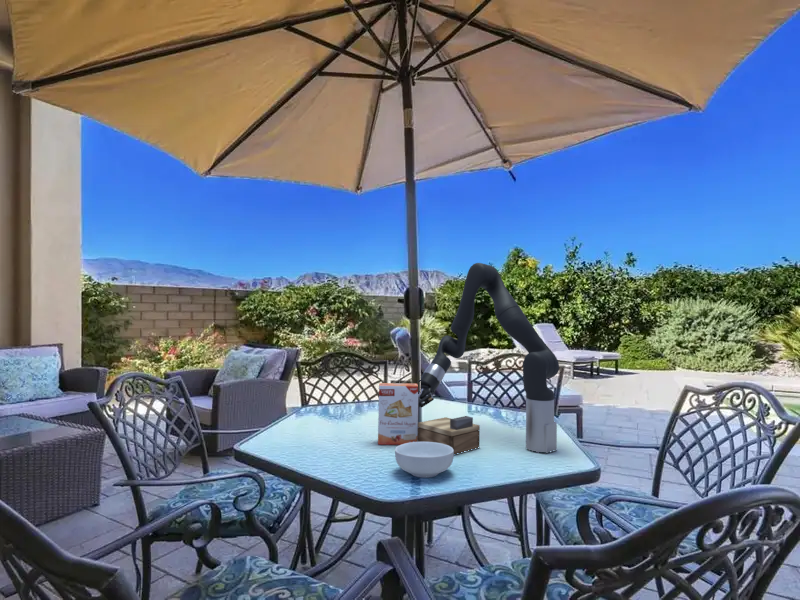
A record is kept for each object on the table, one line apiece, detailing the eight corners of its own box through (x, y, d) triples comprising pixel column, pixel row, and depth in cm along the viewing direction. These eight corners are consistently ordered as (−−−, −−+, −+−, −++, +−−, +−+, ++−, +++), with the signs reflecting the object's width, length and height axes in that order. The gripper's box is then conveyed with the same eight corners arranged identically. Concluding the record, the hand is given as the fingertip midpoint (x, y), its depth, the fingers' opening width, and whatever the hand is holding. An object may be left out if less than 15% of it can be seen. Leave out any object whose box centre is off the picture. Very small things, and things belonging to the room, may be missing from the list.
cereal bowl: (449, 463, 144) (449, 440, 145) (457, 483, 128) (457, 457, 128) (394, 463, 144) (394, 440, 144) (395, 483, 127) (395, 457, 128)
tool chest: (479, 448, 161) (479, 430, 162) (451, 456, 152) (451, 437, 152) (445, 438, 173) (445, 422, 174) (417, 445, 164) (417, 427, 164)
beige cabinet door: (479, 429, 162) (479, 416, 162) (451, 436, 152) (451, 422, 152) (445, 421, 174) (445, 409, 174) (417, 427, 164) (417, 414, 165)
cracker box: (377, 445, 164) (378, 385, 164) (378, 440, 170) (378, 382, 170) (418, 445, 164) (418, 385, 164) (417, 440, 170) (417, 382, 170)
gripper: (415, 370, 186) (391, 405, 178) (439, 373, 176) (415, 410, 168) (424, 382, 190) (401, 417, 181) (449, 386, 180) (426, 423, 171)
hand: (408, 414), depth 174 cm, fingers closed
